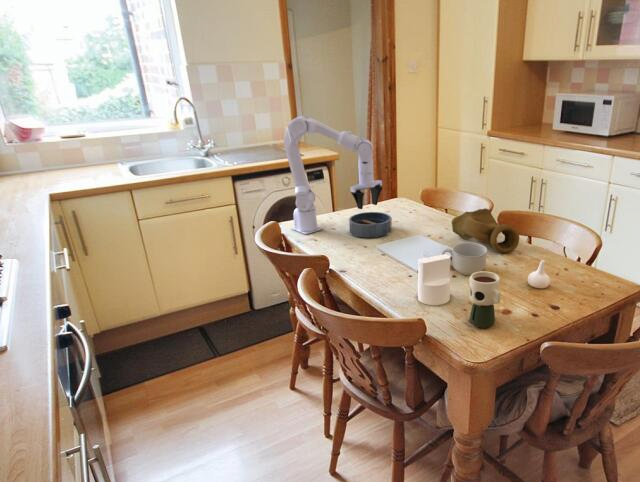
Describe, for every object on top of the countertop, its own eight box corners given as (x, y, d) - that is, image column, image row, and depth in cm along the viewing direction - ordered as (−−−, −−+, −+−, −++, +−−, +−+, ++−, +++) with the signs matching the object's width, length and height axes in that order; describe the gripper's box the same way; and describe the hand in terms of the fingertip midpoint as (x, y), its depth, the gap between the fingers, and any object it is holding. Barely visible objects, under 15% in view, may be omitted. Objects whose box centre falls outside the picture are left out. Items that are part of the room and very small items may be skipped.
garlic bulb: (524, 280, 140) (527, 256, 137) (545, 280, 139) (548, 255, 136) (530, 290, 134) (532, 264, 131) (552, 290, 134) (555, 264, 130)
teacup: (488, 266, 150) (489, 243, 147) (483, 280, 140) (484, 256, 137) (445, 262, 154) (446, 239, 151) (438, 275, 145) (438, 252, 142)
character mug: (457, 317, 121) (459, 272, 116) (478, 310, 124) (481, 266, 119) (485, 337, 112) (489, 289, 107) (507, 328, 115) (511, 281, 110)
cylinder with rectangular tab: (427, 308, 126) (427, 267, 121) (412, 294, 134) (412, 255, 129) (455, 300, 129) (457, 261, 125) (439, 288, 137) (440, 250, 132)
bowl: (341, 232, 185) (340, 218, 183) (372, 222, 195) (371, 209, 193) (368, 242, 173) (368, 228, 171) (400, 231, 184) (400, 217, 182)
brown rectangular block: (361, 227, 187) (360, 220, 186) (364, 226, 188) (364, 219, 187) (377, 233, 180) (377, 225, 179) (381, 232, 181) (380, 224, 180)
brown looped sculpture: (502, 212, 178) (527, 220, 157) (492, 244, 180) (515, 257, 159) (457, 200, 174) (477, 207, 153) (447, 233, 177) (466, 244, 156)
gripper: (358, 177, 171) (360, 212, 176) (386, 170, 180) (387, 204, 185) (346, 174, 176) (348, 209, 181) (374, 168, 185) (376, 201, 190)
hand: (367, 206), depth 183 cm, fingers open, 7 cm apart
